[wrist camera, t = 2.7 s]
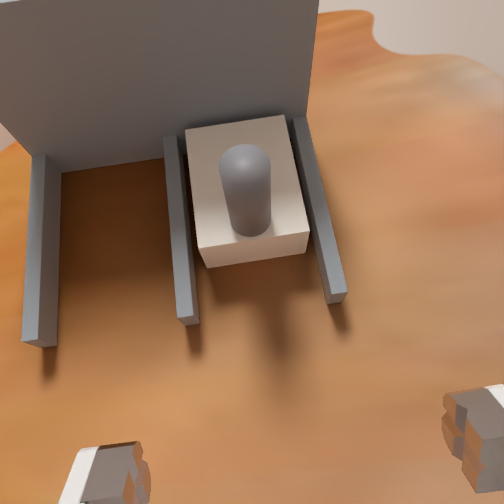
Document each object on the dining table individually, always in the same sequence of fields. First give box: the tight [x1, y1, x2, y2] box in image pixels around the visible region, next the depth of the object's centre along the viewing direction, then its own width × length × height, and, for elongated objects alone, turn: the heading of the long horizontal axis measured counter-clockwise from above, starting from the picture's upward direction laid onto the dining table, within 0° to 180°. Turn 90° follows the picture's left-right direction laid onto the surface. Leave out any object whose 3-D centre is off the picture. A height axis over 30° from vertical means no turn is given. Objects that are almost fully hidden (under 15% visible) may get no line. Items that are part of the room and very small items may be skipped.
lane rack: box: [0, 0, 348, 348], centre depth 24 cm, size 20×15×14 cm
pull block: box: [185, 115, 310, 268], centre depth 27 cm, size 7×9×10 cm
